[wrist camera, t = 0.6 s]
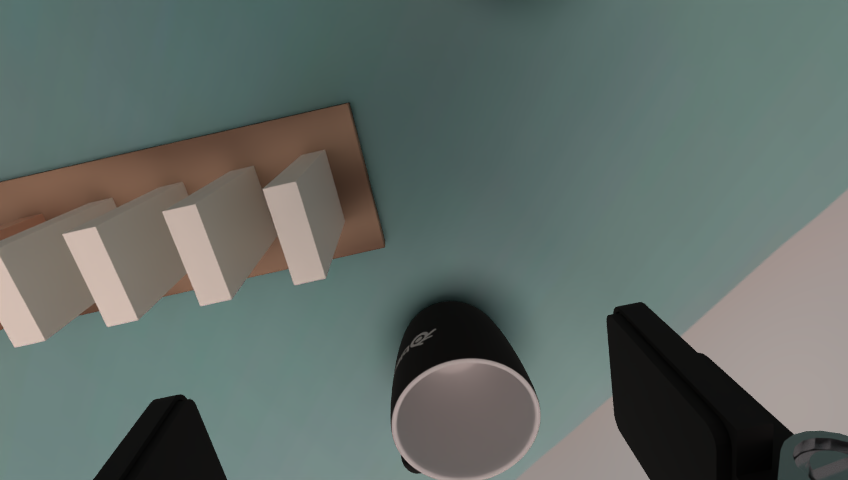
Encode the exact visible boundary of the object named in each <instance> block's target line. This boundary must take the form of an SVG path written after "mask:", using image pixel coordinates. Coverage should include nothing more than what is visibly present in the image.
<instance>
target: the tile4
mask: <svg viewBox="0 0 848 480" xmlns="http://www.w3.org/2000/svg"><path fill="white" fill-rule="evenodd" d="M115 208H117V207H116V205H115V202H114V200H113V198H109V199H104V200H100V201H96V202H91V203H88V204H85V205H83V206H81V207H78V208H76V209H74V210H71V211H69V212H67V213H64V214H62V215H60V216H57V217H55V218H52V219H50V220H48V221H45V222H43V223H41V224H38V225H36V226H34V227H31V228H29V229H27V230H24V231H22V232H20V233H17V234H15V235H13V236H10V237H8V238H5V239H3V240H1V241H0V323H1V324H2V326H3V328H4V330H5V331H6V333H7V335H8V337H9V338H10V340H11V342H12V344H13V346H14V347H19V346H24V345H28V344H33V343H37V342H42V341H46V340H47V339H48V338H50V337H51V336H52V335H54V334H55V333H56V332H57V331H59V330H60V329H61V328H63V327H64V326H65V325H67V324H68V323H69V322H71V321H72V320H73V319H74V318H76V317H77V316H78V315H80V314H81V313H82V312H84V311H85V310H86V309H87V308H89V307H90V306H91V305H93V304H94V303H95V301H94V299H93V297H92V294H91V292H90V290H89V288H88V286H87V284H86V282H85V280H84V278H83V276H82V274H81V272H80V270H79V268H78V266H77V264H76V262H75V260H74V257H73V255H72V253H71V251H70V249H69V247H68V245H67V243H66V241H65V239H64V237H63V235H62V234H64V233H66V232H68V231H70V230H72V229H74V228H76V227H78V226H80V225H82V224H84V223H86V222H88V221H90V220H92V219H94V218H97V217H99V216H101V215H103V214H105V213H107V212H109V211H111V210H113V209H115Z"/></svg>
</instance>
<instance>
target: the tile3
mask: <svg viewBox="0 0 848 480" xmlns="http://www.w3.org/2000/svg"><path fill="white" fill-rule="evenodd" d="M187 196H188V194H187V191H186V188H185V186H184V183H183V182H180V183H175V184H171V185H166V186H162V187H158V188H156V189H154V190H152V191H150V192H148V193H146V194H144V195H142V196H140V197H138V198H136V199H134V200H132V201H130V202H128V203H125V204H123V205H121V206H119V207H117V208H115V209H113V210H111V211H109V212H107V213H105V214H103V215H101V216H99V217H97V218H94V219H92V220H90V221H88V222H86V223H84V224H82V225H80V226H78V227H76V228H74V229H72V230H70V231H68V232H66V233H64V234H62V235H63V237H64V239H65V241H66V243H67V245H68V247H69V249H70V251H71V253H72V255H73V257H74V260H75V262H76V264H77V266H78V268H79V270H80V272H81V274H82V276H83V278H84V280H85V282H86V284H87V286H88V288H89V290H90V292H91V294H92V297H93V299H94V301H95V303H96V305H97V307H98V309H99V311H100V313H101V315H102V317H103V319H104V321H105V323H106V325H107V327H109V326H114V325H118V324H123V323H127V322H132V321H136V320H139V319H140V318H141V317H142V316H143V315H144V314H145V313H146V312H147V311H148V310H149V309H150V308H151V307H152V306H153V305H154V304H156V303H157V302H158V301H159V300H160V299H161V298H162V297H163V296H164V295H165V294H166V293H167V292H168V291H169V290H170V289H171V288H172V287H173V286H174V285H175V284H176V283H177V282H178V281H179V280H180V279H181V278H183V277H184V276H185V275H186V274H187V272H186V269H185V267H184V264H183V262H182V260H181V257H180V255H179V252H178V250H177V247H176V245H175V242H174V240H173V238H172V235H171V233H170V230H169V228H168V225H167V223H166V220H165V218H164V216H163V213H162V211H164V210H166V209H167V208H169V207H171V206H172V205H174V204H176V203H177V202H179V201H181V200H182V199H184V198H186V197H187Z"/></svg>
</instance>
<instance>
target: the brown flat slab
mask: <svg viewBox="0 0 848 480" xmlns="http://www.w3.org/2000/svg"><path fill="white" fill-rule="evenodd" d="M321 150H325V151H326V155H327V158H328V162H329V166H330V169H331V173H332V176H333V180H334V183H335V187H336V190H337V194H338V198H339V201H340V205H341V208H342V212H343V215H344V219H345V223H344V226H343V229H342V232H341V235H340V238H339V241H338V244H337V247H336V250H335V252H334V255H333V258H332V259H335V258H339V257H344V256H348V255H353V254H357V253H362V252H366V251H371V250H375V249H380V248H384V247H385V239H384V235H383V231H382V227H381V224H380V220H379V216H378V212H377V208H376V204H375V200H374V196H373V192H372V188H371V185H370V181H369V177H368V173H367V169H366V165H365V161H364V157H363V153H362V149H361V146H360V142H359V138H358V134H357V130H356V126H355V122H354V118H353V114H352V111H351V107H350V103H344V104H340V105H336V106H331V107H327V108H323V109H318V110H314V111H309V112H305V113H301V114H296V115H292V116H287V117H283V118H279V119H274V120H270V121H265V122H261V123H257V124H252V125H248V126H243V127H239V128H235V129H230V130H226V131H222V132H217V133H213V134H208V135H204V136H200V137H195V138H191V139H186V140H182V141H178V142H173V143H169V144H164V145H160V146H156V147H151V148H147V149H142V150H138V151H134V152H129V153H125V154H121V155H116V156H112V157H107V158H103V159H99V160H94V161H90V162H85V163H81V164H77V165H72V166H68V167H63V168H59V169H55V170H50V171H46V172H41V173H37V174H33V175H28V176H24V177H20V178H15V179H11V180H6V181H2V182H0V226H2V225H4V224H7V223H10V222H12V221H15V220H17V219H20V218H25V217H29V216H34V215H38V214H43V216H44V218H45V220H46V221H48V220H50V219H52V218H55V217H57V216H60V215H62V214H64V213H67V212H69V211H71V210H74V209H76V208H78V207H81V206H83V205H85V204H88V203H91V202H96V201H100V200H104V199H109V198H113V200H114V202H115V205H116V207H119V206H121V205H123V204H125V203H128V202H130V201H132V200H134V199H136V198H138V197H140V196H142V195H144V194H146V193H148V192H150V191H152V190H154V189H156V188H158V187H162V186H166V185H171V184H175V183H180V182H183V183H184V186H185V188H186V191H187V194H188V196H189V195H191V194H192V193H194V192H196V191H197V190H199V189H201V188H203V187H204V186H206V185H208V184H209V183H211V182H213V181H214V180H216V179H218V178H219V177H221V176H223V175H224V174H226V173H228V172H229V171H233V170H237V169H241V168H246V167H250V166H254V168H255V171H256V174H257V177H258V180H259V183H260V186H261V189H263V188H264V187H265V186H266V185H268V184H269V183H270V182H271V181H272V180H273V179H274V178H275V177H277V176H278V175H279V174H280V173H281V172H282V171H283V170H285V169H286V168H287V167H288V166H289V165H290V164H291V163H293V162H294V161H295V160H296V159H297V158H298V157H299V156H301V155H303V154H308V153H312V152H316V151H321ZM262 192H263V190H262ZM263 195H264V193H263ZM264 198H265V196H264ZM265 201H266V199H265ZM266 204H267V202H266ZM267 207H268V205H267ZM268 210H269V208H268ZM269 213H270V211H269ZM270 216H271V214H270ZM271 219H272V217H271ZM272 222H273V220H272ZM273 225H274V223H273ZM274 228H275V226H274ZM275 231H276V229H275ZM276 234H277V232H276ZM285 269H289V268H288V265H287V262H286V259H285V256H284V253H283V250H282V247H281V244H280V241H279V238H278V235H277V237H276V239H275V240H274V241H273V243H272V244H271V246H270V247H269V248H268V250H267V251H266V252H265V254H264V255H263V257H262V258H261V259H260V261H259V262H258V264H257V265H256V266H255V268H254V269H253V271H252V272H251V273H250V275H249V276H248V277H247V278H250V277H254V276H259V275H263V274H267V273H272V272H276V271H281V270H285ZM191 290H194V289H193V287H192V284H191V282H190V279H189V277H188V274H186V275H185V276H184V277H183V278H181V279H180V280H179V281H178V282H177V283H176V284H175V285H174V286H173V287H172V288H171V289H170V290H169V291H168V292H167V293H166V294H165V295H164V296H169V295H173V294H178V293H182V292H187V291H191ZM164 296H163V297H164ZM97 311H99V309H98V307H97V305H96V303H94V304H93V305H91V306H90V307H89V308H87V309H86V310H85V311H84V312H82V313H81V314H80V315H83V314H88V313H92V312H97ZM78 316H79V315H78Z"/></svg>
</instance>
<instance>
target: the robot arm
mask: <svg viewBox="0 0 848 480" xmlns="http://www.w3.org/2000/svg"><path fill="white" fill-rule="evenodd" d="M607 332H608V345H609V357H610V369H611V381H612V393H613V405H614V416H615V420H616V423H617V426H618V429H619V431H620V432H621V434H622V436H623V437H624V439H625V441H626V442H627V444H628V445H629V447H630V448H631V450H632V452H633V453H634V455H635V456H636V458H637V460H638V461H639V462H640V464H641V466H642V468H643V469H644V471H645V472H646V474H647V476H648V477H649V479H650V480H848V436H846V435H842V434H839V433H832V432H825V431H806V432H802V433H798V434H795V435H794V434H793V433H792V432H791V431H789V430H788V429H787V428H786V427H785V426H784V425H783V424H782V423H781V422H779V421H778V420H777V419H776V418H775V417H774V416H773V415H772V414H771V413H769V412H768V411H767V410H766V409H765V408H764V407H763V406H762V405H761V404H759V403H758V402H757V401H756V400H755V399H754V398H753V397H752V396H751V395H750V394H748V393H747V392H746V391H745V390H744V389H743V388H742V387H741V386H739V385H738V384H737V383H736V382H735V381H734V380H733V379H732V378H731V377H729V376H728V375H727V374H726V373H725V372H724V371H723V370H722V369H721V368H720V367H718V366H717V365H716V364H715V363H714V362H713V361H712V360H711V359H710V358H708V357H707V356H705V355H704V354H701V353H697V352H696V351H695V350H694V349H693V348H692V347H691V346H690V345H689V344H688V343H687V342H685V341H684V340H683V339H682V338H681V337H680V336H679V335H678V334H677V333H676V332H675V331H673V330H672V329H671V328H670V327H669V326H668V325H667V324H666V323H665V322H664V321H663V320H662V319H660V318H659V317H658V316H657V315H656V314H655V313H654V312H653V311H652V310H651V309H650V308H648V307H647V306H646V305H645V304H644V303H642V302H638V303H633V304H628V305H623V306H618V307H615V309H614V312H613V314H612V315H608V316H607ZM93 480H227V478H226V476H225V474H224V471H223V469H222V466H221V464H220V462H219V459H218V457H217V454H216V452H215V449H214V447H213V445H212V442H211V440H210V437H209V435H208V433H207V430H206V428H205V425H204V423H203V421H202V418H201V416H200V413H199V411H198V409H197V406H196V404H195V402H194V401H193V400H191V399H188V400H187V398H186V397H185V396H184V395H181V394H180V395H175V396H170V397H165V398H160V399H156V400H153V401H152V402H151V403H150V404H149V406H148V407H147V408H146V410H145V411H144V412H143V414H142V415H141V416H140V418H139V419H138V420H137V422H136V423H135V424H134V426H133V427H132V428H131V430H130V431H129V432H128V434H127V435H126V436H125V438H124V439H123V440H122V442H121V443H120V444H119V446H118V447H117V448H116V450H115V451H114V452H113V454H112V455H111V456H110V458H109V459H108V460H107V462H106V463H105V465H104V466H103V467H102V469H101V470H100V471H99V473H98V474H97V475H96V477H95V478H94V479H93Z"/></svg>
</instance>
